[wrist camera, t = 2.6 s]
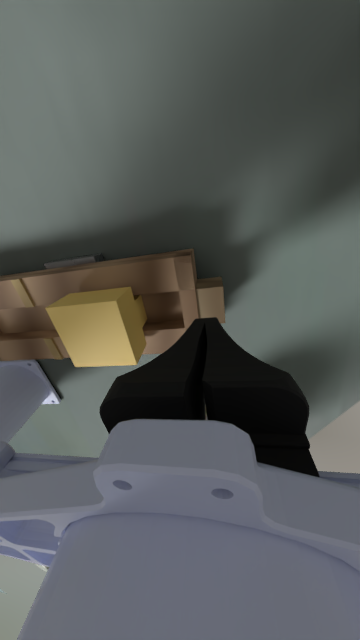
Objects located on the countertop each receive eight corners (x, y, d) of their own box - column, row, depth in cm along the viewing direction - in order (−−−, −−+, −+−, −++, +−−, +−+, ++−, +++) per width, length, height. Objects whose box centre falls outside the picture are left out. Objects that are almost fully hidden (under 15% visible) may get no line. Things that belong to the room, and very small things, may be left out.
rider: (103, 334, 19) (75, 367, 15) (83, 285, 17) (45, 308, 13) (152, 331, 18) (136, 364, 14) (139, 278, 16) (116, 300, 12)
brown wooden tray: (15, 346, 23) (-8, 362, 21) (-28, 280, 20) (-63, 290, 17) (224, 333, 19) (227, 351, 16) (219, 244, 15) (221, 251, 13)
